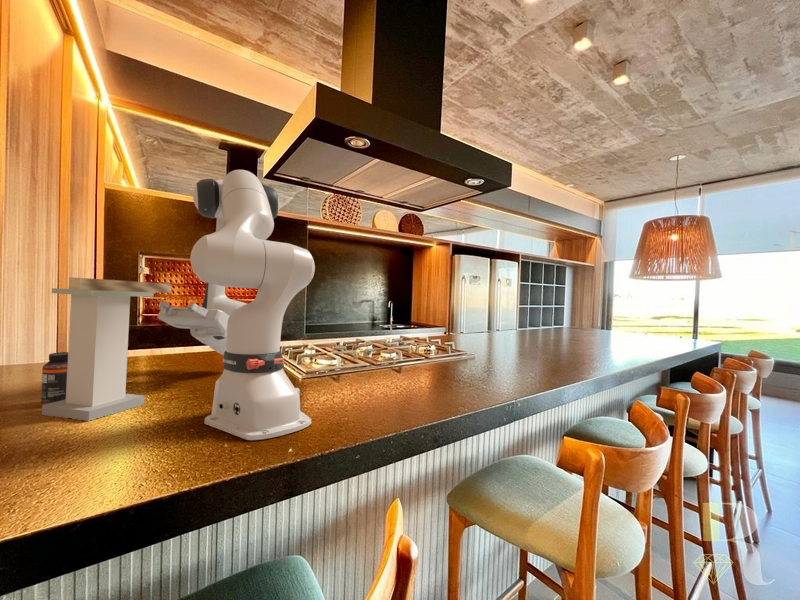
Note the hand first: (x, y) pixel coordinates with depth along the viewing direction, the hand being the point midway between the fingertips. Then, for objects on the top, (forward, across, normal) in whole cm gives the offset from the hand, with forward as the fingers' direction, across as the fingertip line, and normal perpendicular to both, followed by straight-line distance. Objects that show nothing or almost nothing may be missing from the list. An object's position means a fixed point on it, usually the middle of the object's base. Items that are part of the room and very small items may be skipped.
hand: (176, 304), depth 95 cm
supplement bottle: (+5, -11, +29) cm, 32 cm away
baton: (+14, 0, +4) cm, 14 cm away
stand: (+5, 0, +30) cm, 30 cm away
